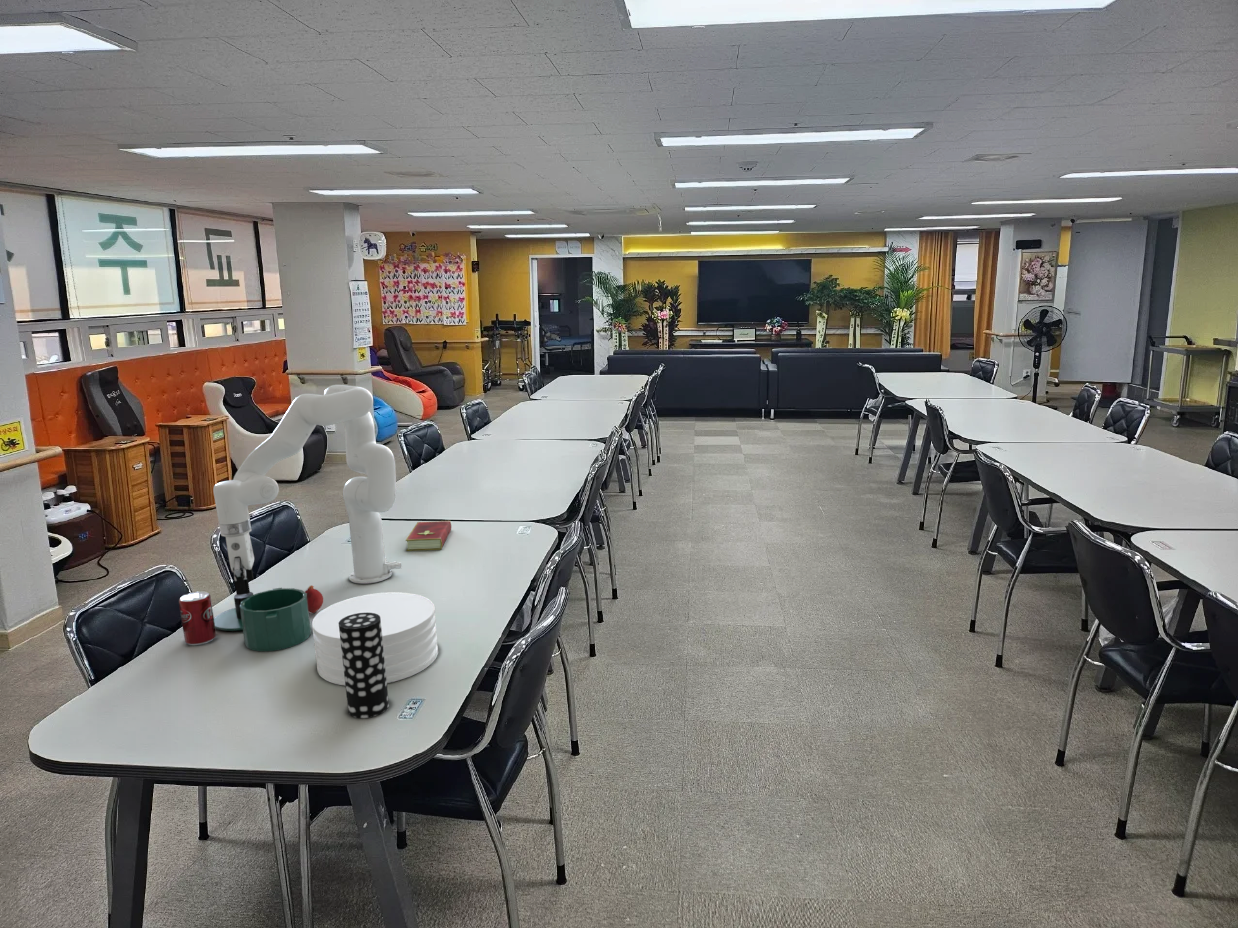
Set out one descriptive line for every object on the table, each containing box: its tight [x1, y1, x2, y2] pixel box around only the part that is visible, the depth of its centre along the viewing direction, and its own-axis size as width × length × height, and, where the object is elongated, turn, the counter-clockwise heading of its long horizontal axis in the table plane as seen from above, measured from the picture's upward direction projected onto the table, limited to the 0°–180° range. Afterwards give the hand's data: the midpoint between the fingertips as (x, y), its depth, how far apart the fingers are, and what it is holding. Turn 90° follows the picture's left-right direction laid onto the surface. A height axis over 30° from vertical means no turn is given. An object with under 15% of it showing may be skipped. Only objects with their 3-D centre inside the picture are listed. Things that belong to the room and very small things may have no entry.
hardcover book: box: [405, 520, 452, 552], centre depth 287 cm, size 12×21×4 cm, turn 2°
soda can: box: [178, 591, 217, 646], centre depth 210 cm, size 7×7×12 cm
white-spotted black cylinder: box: [339, 613, 390, 719], centre depth 173 cm, size 8×8×20 cm
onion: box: [304, 585, 324, 614], centre depth 226 cm, size 6×6×8 cm
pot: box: [240, 587, 312, 652], centre depth 210 cm, size 16×21×10 cm
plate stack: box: [311, 591, 439, 686], centre depth 197 cm, size 28×28×12 cm
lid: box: [214, 591, 254, 632], centre depth 223 cm, size 17×17×7 cm
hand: (245, 587), depth 222 cm, fingers open, 9 cm apart
